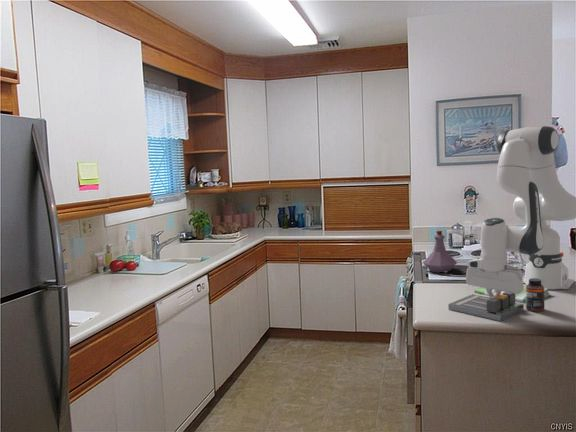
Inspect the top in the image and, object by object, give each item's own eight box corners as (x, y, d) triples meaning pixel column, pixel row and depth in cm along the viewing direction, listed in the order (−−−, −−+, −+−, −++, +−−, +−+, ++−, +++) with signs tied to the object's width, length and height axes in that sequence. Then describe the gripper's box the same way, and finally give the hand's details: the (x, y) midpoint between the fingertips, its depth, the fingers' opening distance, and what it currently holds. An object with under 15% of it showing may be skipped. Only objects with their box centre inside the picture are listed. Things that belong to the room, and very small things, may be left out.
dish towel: (528, 305, 182) (528, 296, 181) (473, 294, 200) (473, 285, 200) (550, 296, 192) (550, 287, 191) (496, 285, 210) (496, 277, 210)
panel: (472, 299, 191) (472, 293, 191) (523, 309, 176) (523, 303, 176) (448, 309, 181) (448, 303, 180) (500, 321, 165) (500, 315, 165)
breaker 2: (507, 301, 179) (507, 290, 179) (515, 302, 177) (515, 292, 176) (502, 303, 177) (502, 293, 176) (510, 305, 174) (510, 294, 174)
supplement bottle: (538, 306, 178) (538, 276, 177) (547, 311, 172) (548, 280, 171) (522, 307, 178) (522, 277, 177) (531, 312, 172) (531, 281, 171)
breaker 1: (492, 308, 172) (492, 297, 172) (500, 309, 170) (500, 298, 170) (486, 310, 170) (486, 299, 169) (494, 312, 168) (494, 301, 167)
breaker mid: (500, 304, 176) (500, 294, 175) (508, 306, 173) (508, 295, 173) (494, 307, 173) (494, 296, 173) (502, 308, 171) (502, 297, 170)
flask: (456, 267, 245) (455, 228, 243) (459, 275, 229) (458, 233, 227) (422, 267, 249) (421, 228, 247) (423, 274, 234) (422, 234, 231)
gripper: (527, 266, 168) (526, 304, 169) (472, 258, 184) (472, 293, 185) (518, 269, 164) (518, 308, 165) (463, 261, 180) (463, 297, 181)
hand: (493, 300), depth 175 cm, fingers closed
